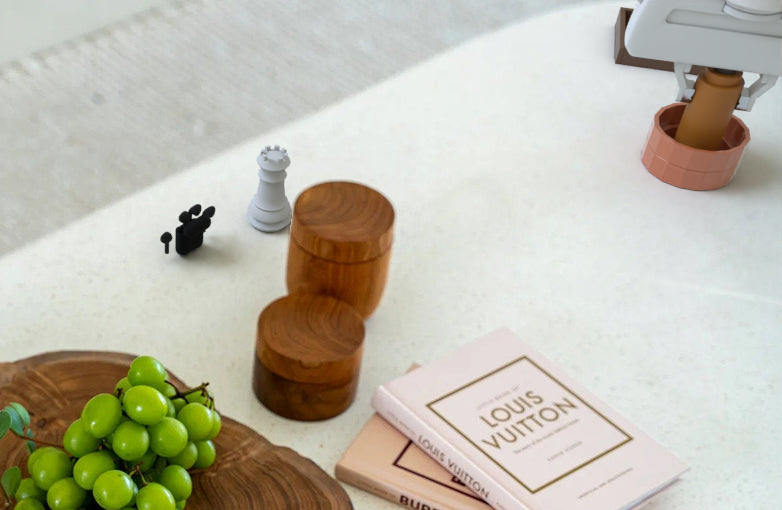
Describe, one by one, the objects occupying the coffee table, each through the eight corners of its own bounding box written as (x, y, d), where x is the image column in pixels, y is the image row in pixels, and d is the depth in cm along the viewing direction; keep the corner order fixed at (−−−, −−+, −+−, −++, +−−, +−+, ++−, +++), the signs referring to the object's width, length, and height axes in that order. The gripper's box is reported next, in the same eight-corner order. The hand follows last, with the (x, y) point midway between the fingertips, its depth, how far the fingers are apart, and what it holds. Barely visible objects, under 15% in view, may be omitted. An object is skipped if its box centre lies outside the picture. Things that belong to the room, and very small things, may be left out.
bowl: (730, 150, 123) (747, 109, 120) (735, 201, 117) (753, 159, 114) (639, 136, 125) (653, 96, 121) (639, 185, 119) (654, 144, 115)
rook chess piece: (240, 211, 115) (244, 143, 110) (281, 203, 116) (287, 135, 110) (255, 237, 112) (260, 169, 107) (297, 229, 113) (305, 161, 108)
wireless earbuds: (209, 231, 113) (210, 189, 109) (227, 243, 112) (229, 200, 108) (157, 262, 110) (156, 219, 106) (174, 274, 109) (175, 232, 105)
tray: (700, 37, 140) (708, 18, 138) (704, 80, 133) (711, 60, 131) (614, 25, 142) (620, 6, 140) (613, 67, 135) (619, 47, 133)
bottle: (709, 154, 122) (754, 42, 112) (711, 178, 119) (757, 65, 109) (666, 148, 123) (707, 36, 113) (666, 171, 120) (709, 58, 110)
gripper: (646, -28, 105) (605, 104, 115) (886, 2, 102) (821, 136, 112) (646, -58, 109) (606, 73, 119) (876, -30, 106) (814, 102, 116)
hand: (711, 103), depth 116 cm, fingers closed on bottle, 4 cm apart
